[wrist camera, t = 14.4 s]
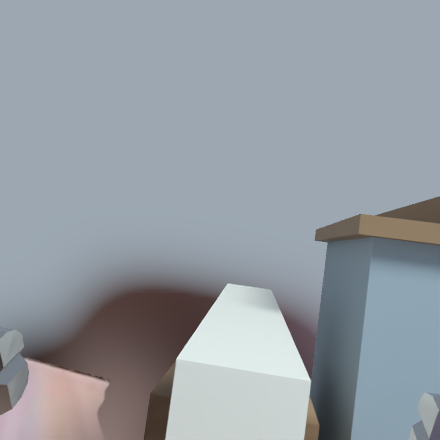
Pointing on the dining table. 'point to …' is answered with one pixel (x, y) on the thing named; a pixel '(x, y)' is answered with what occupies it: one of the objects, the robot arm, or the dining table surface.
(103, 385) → the dining table surface
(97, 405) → the dining table surface
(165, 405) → the walnut block
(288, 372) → the white beam
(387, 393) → the cabinet
